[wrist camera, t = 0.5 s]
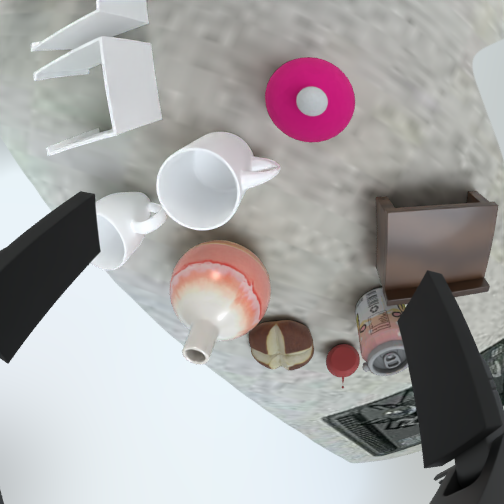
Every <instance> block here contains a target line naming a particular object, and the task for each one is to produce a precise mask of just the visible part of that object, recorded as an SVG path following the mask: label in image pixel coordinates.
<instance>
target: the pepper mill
mask: <svg viewBox="0 0 504 504" xmlns="http://www.w3.org/2000/svg"><path fill="white" fill-rule="evenodd" d="M265 101H266V107H267V111H268V113H269V116H270V118H271V119H272V121H273V123H274V124H275V125H276V126H277V127H278V128H279V129H280V130H281V131H282V132H283V133H285V134H286V135H288V136H289V137H292V138H294V139H296V140H300V141H304V142H320V141H325V140H328V139H330V138H332V137H335V136H336V135H338V134H339V133H340V132H341V131H343V130H344V129H345V127H346V126H347V125H348V123H349V122H350V120H351V118H352V116H353V112H354V108H355V96H354V92H353V88H352V86H351V84H350V82H349V80H348V78H347V77H346V76H345V74H344V73H343V72H342V71H341V70H340V69H339V68H338V67H336V66H335V65H333V64H332V63H329V62H327V61H325V60H322V59H318V58H310V57H308V58H298V59H294V60H291V61H289V62H287V63H285V64H283V65H282V66H281V67H279V68H278V69H277V70H276V71H275V72H274V73H273V75H272V76H271V78H270V80H269V82H268V84H267V88H266V92H265Z"/></svg>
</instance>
